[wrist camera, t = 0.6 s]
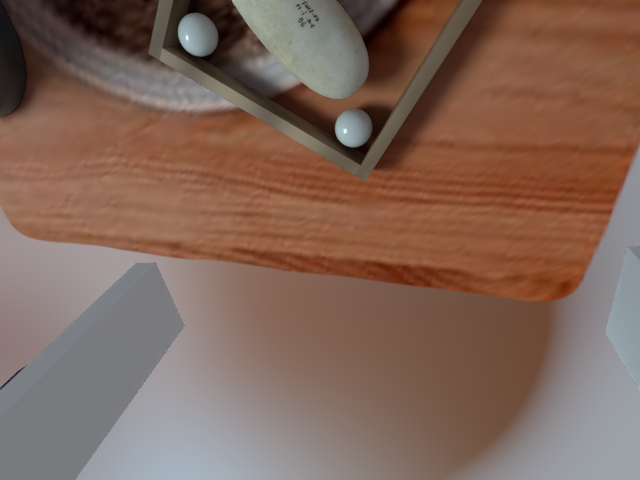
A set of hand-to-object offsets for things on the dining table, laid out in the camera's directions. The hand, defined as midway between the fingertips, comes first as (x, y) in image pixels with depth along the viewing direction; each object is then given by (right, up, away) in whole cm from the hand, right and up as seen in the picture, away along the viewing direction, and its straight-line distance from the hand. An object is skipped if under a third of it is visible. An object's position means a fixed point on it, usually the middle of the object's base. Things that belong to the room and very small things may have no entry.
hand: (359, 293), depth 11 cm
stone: (-2, +18, +18) cm, 26 cm away
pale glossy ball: (-10, +18, +20) cm, 29 cm away
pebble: (+2, +11, +21) cm, 24 cm away
